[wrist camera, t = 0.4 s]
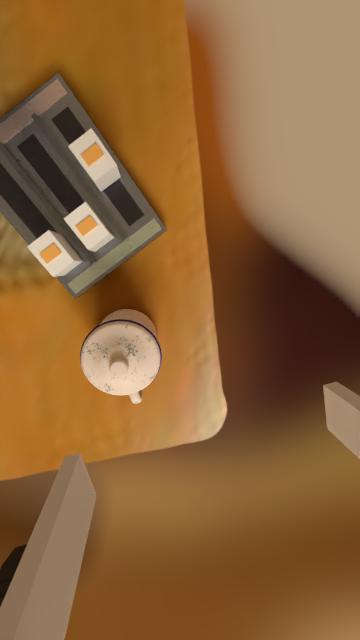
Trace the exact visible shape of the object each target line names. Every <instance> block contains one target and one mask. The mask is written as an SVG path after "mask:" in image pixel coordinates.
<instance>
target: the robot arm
mask: <svg viewBox="0 0 360 640" xmlns="http://www.w3.org/2000/svg"><path fill="white" fill-rule="evenodd" d="M323 388H324V398H325V409H326V419H327V429H328V430H329V431H330V432H331V433H333V434H334V435H335V436H336V437H337V438H338V439H339V440H340V441H341V442H342V443H343V444H344V445H345V446H346V447H348V448H349V449H350V450H351V451H352V452H353V453H354V454H355V455H356V456H357V457H358V458H359V459H360V397H359V396H358V395H357V394H355V393H353V392H352V391H350V390H348V389H347V388H345V387H344V386H342V385H341V384H339V383H337V382H334V383H331V384H327V385H324V386H323ZM95 499H96V493H95V491H94V488H93V485H92V482H91V480H90V477H89V475H88V472H87V470H86V467H85V464H84V462H83V459H82V456H81V454H80V453H78V454H74V455H70V456H67V457H65V458H64V460H63V463H62V465H61V467H60V470H59V472H58V474H57V477H56V479H55V481H54V484H53V486H52V488H51V491H50V493H49V495H48V498H47V500H46V502H45V504H44V507H43V509H42V512H41V514H40V516H39V518H38V521H37V523H36V525H35V528H34V530H33V533H32V535H31V537H30V539H29V542H28V544H26V545H23V546H19V547H16V548H15V549H14V550H13V551H12V553H11V554H10V555H9V557H8V558H7V559H6V561H5V562H4V563H3V565H2V567H1V569H0V640H64V639H65V634H66V630H67V625H68V621H69V616H70V612H71V607H72V603H73V598H74V594H75V589H76V585H77V580H78V576H79V572H80V567H81V563H82V558H83V554H84V549H85V545H86V540H87V536H88V531H89V527H90V522H91V518H92V513H93V509H94V504H95Z"/></svg>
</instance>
